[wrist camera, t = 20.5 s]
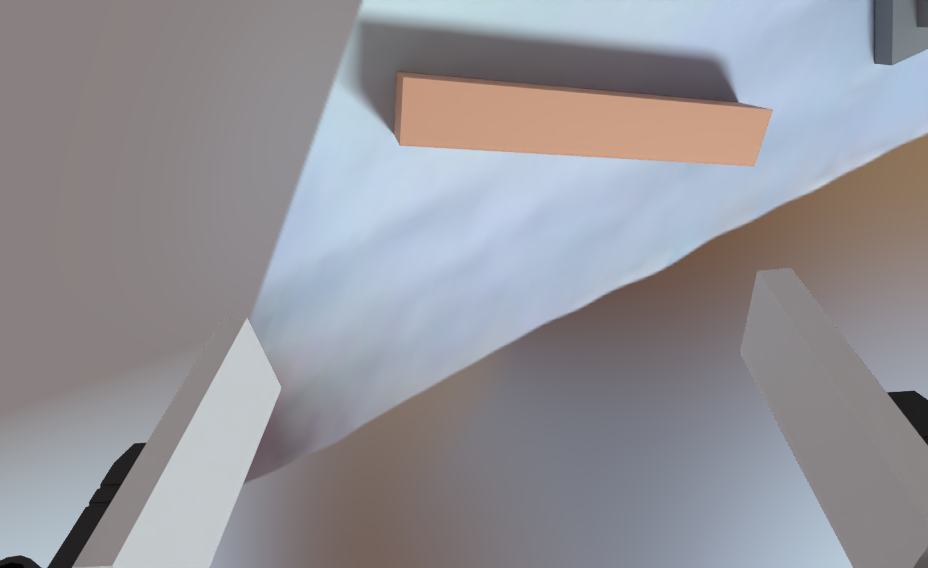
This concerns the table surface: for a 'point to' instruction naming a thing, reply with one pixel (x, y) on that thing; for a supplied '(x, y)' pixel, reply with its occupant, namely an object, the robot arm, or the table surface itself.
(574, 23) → the table surface
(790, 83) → the table surface
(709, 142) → the bar
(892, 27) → the stand
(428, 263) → the table surface
